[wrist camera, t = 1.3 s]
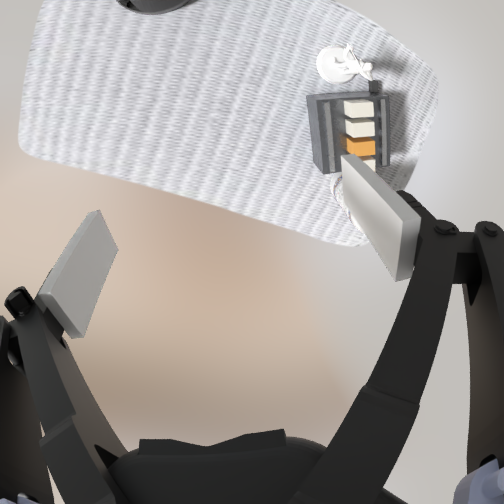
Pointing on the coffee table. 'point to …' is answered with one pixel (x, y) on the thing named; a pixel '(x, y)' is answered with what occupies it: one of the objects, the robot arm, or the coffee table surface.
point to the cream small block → (368, 161)
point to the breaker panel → (334, 128)
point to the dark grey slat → (373, 86)
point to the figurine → (341, 65)
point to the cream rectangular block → (358, 108)
